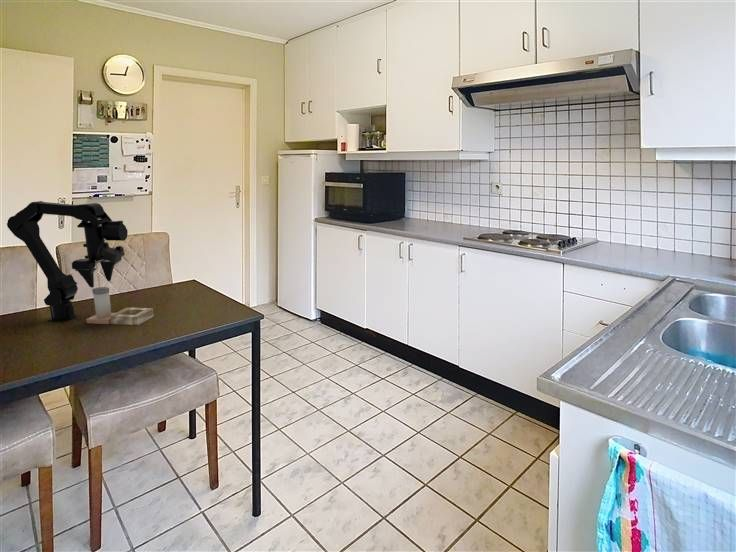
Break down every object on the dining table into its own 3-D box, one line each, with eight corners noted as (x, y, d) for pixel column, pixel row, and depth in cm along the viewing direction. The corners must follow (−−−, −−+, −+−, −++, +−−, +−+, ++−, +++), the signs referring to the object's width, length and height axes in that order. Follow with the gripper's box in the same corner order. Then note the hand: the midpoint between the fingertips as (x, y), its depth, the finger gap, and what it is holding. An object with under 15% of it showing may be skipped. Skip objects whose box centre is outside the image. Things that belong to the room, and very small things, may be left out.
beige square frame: (111, 324, 168) (110, 315, 167) (127, 315, 178) (126, 307, 177) (138, 325, 167) (137, 317, 167) (153, 316, 177) (152, 308, 176)
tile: (86, 323, 169) (86, 319, 169) (101, 316, 177) (100, 312, 176) (108, 324, 168) (107, 319, 168) (121, 316, 176) (121, 312, 176)
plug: (92, 318, 170) (88, 290, 168) (101, 313, 175) (98, 286, 173) (106, 318, 169) (102, 291, 167) (115, 314, 174) (112, 287, 172)
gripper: (99, 245, 157) (105, 291, 161) (132, 236, 175) (137, 278, 179) (67, 244, 158) (74, 290, 162) (104, 236, 176) (109, 277, 180)
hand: (100, 284), depth 171 cm, fingers open, 9 cm apart
